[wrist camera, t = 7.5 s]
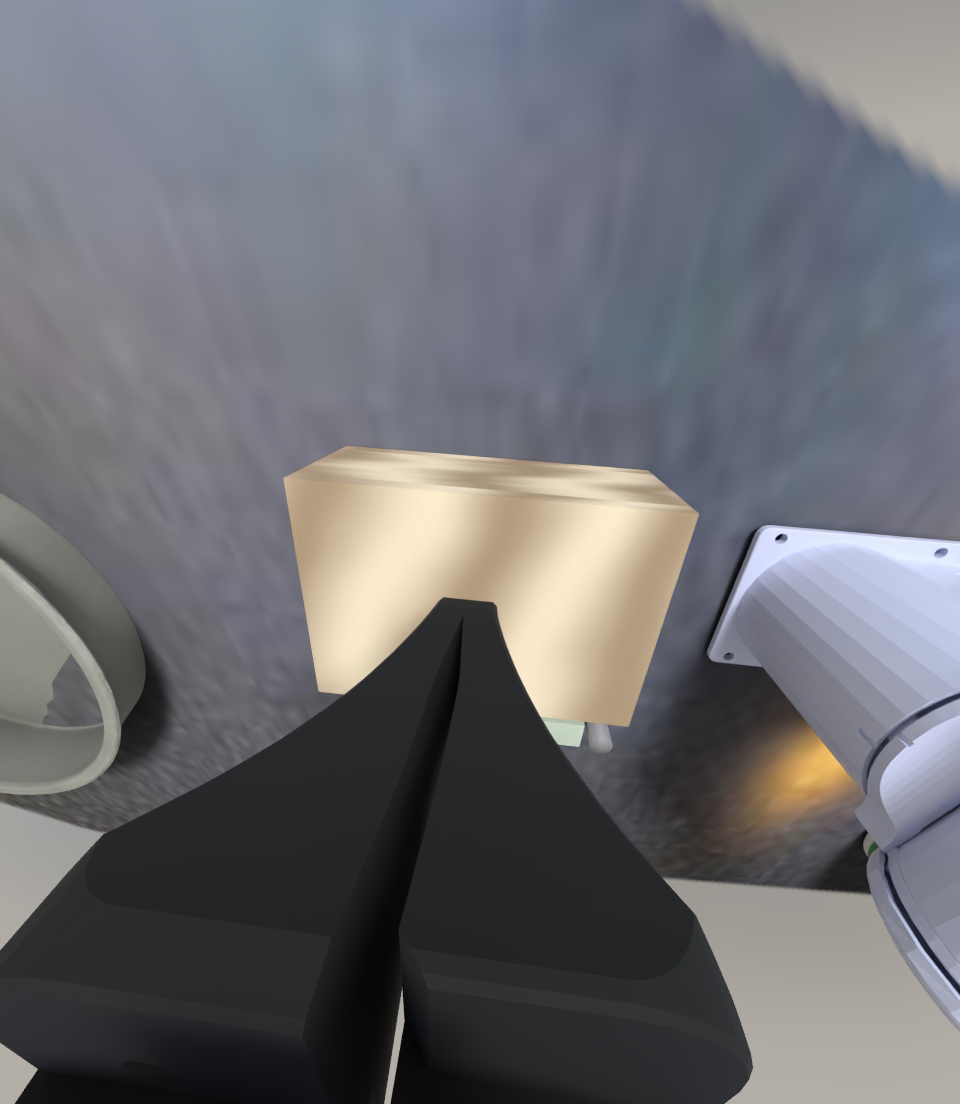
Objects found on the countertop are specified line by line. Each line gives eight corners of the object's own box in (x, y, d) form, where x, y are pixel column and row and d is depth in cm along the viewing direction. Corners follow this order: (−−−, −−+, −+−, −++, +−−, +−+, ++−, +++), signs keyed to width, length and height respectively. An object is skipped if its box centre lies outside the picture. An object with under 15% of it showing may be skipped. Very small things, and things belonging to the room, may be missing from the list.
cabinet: (647, 470, 18) (699, 514, 13) (603, 644, 22) (628, 726, 17) (346, 445, 18) (283, 477, 13) (362, 618, 23) (318, 691, 18)
